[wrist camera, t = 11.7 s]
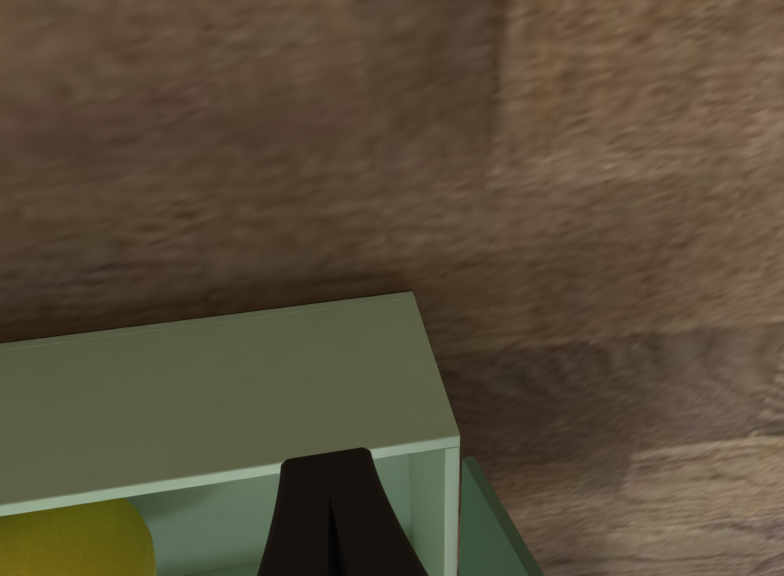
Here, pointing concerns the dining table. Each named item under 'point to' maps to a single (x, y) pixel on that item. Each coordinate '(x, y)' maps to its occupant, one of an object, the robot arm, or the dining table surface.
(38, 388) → the light green open box
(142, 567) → the lemon
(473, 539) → the flap
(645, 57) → the dining table surface
